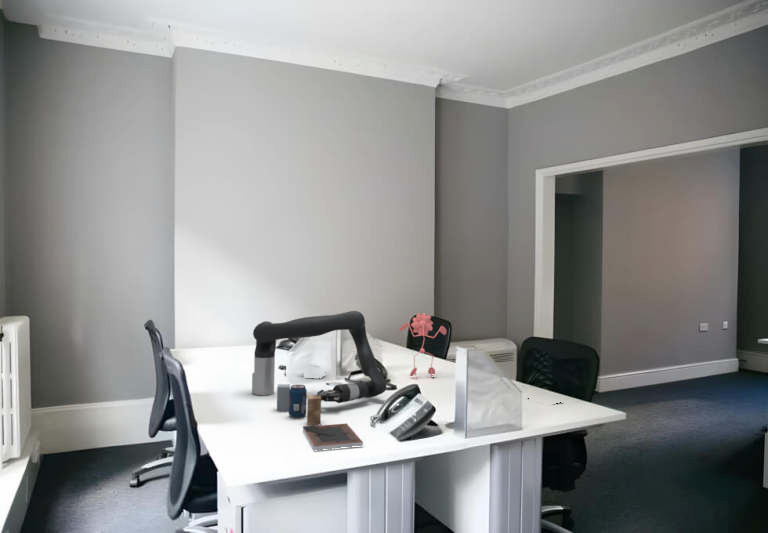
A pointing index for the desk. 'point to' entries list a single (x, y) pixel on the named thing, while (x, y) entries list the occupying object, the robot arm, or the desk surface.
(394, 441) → the desk surface
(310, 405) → the walnut block
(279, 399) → the slate block
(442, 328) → the pink toy figure
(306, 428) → the picture frame
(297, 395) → the soda can
